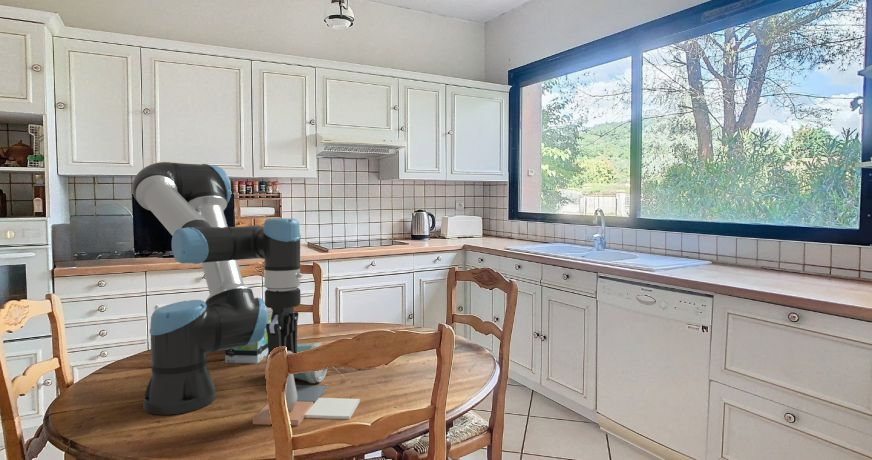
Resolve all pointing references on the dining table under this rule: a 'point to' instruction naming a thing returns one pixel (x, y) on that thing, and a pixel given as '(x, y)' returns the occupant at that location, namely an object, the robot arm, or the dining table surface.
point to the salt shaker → (291, 392)
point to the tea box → (249, 349)
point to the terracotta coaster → (295, 414)
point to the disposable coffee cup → (313, 375)
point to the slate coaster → (309, 392)
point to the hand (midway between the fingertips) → (283, 392)
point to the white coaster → (333, 408)
